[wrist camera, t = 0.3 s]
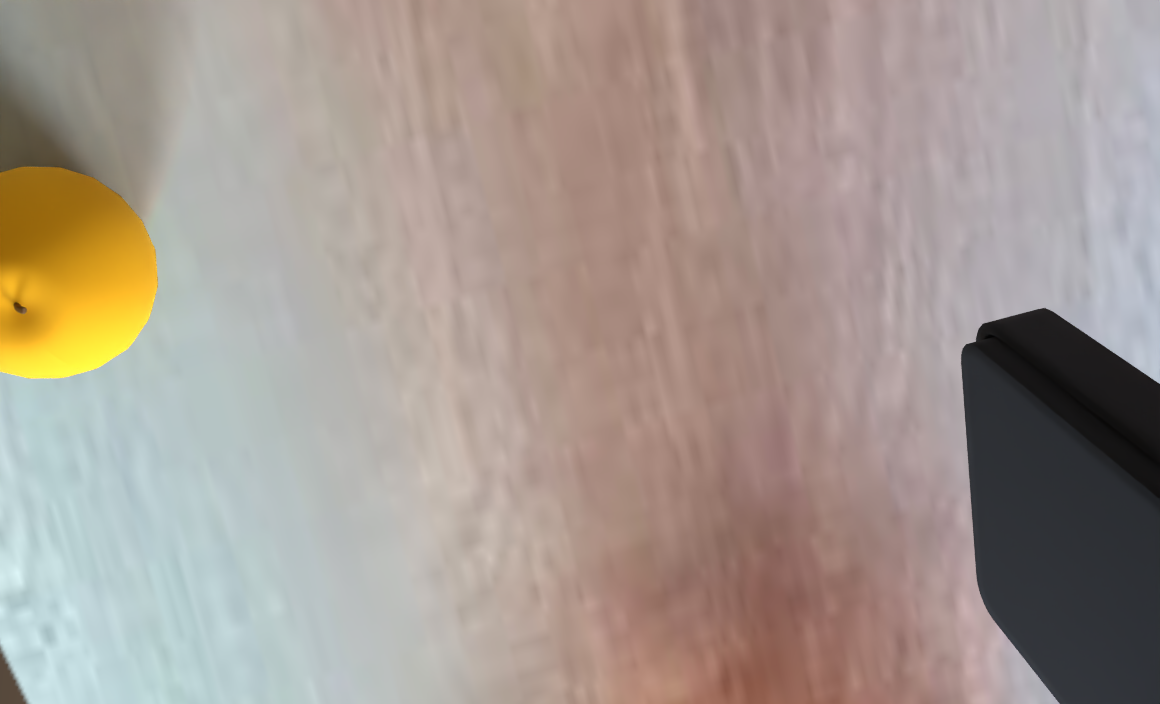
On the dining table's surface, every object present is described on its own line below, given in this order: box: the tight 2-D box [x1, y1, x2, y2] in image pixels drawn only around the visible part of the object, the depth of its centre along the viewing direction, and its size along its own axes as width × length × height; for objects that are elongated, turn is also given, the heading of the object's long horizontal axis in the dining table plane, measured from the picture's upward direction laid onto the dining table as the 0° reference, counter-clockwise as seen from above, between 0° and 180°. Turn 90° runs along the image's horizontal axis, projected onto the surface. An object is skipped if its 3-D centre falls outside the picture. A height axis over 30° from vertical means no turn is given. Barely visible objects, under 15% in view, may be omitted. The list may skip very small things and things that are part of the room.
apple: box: [0, 167, 158, 378], centre depth 41 cm, size 8×8×8 cm
